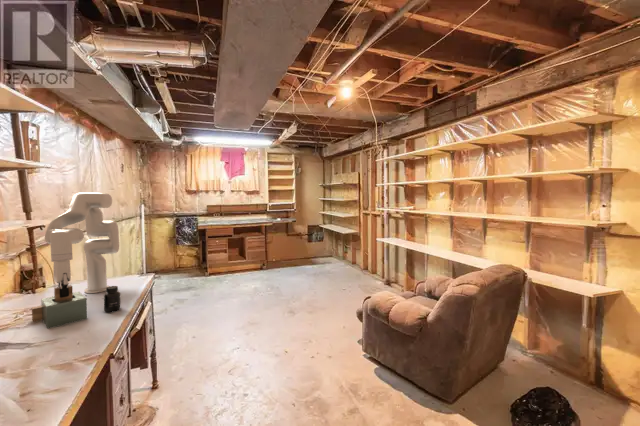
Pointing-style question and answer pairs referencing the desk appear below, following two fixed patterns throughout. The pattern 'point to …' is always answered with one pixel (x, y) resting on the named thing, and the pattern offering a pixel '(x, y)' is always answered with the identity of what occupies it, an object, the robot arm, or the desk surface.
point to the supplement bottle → (112, 299)
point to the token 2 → (57, 294)
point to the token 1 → (37, 313)
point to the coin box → (63, 310)
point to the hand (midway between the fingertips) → (63, 295)
